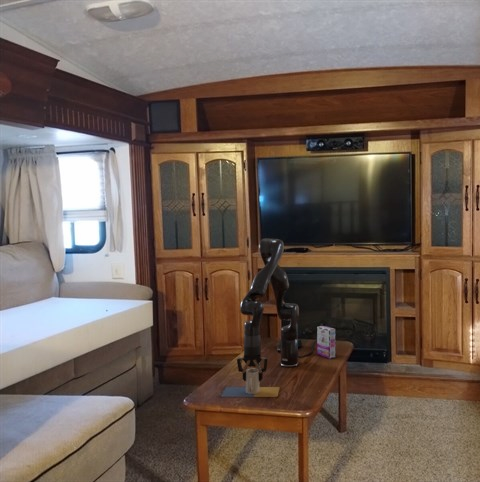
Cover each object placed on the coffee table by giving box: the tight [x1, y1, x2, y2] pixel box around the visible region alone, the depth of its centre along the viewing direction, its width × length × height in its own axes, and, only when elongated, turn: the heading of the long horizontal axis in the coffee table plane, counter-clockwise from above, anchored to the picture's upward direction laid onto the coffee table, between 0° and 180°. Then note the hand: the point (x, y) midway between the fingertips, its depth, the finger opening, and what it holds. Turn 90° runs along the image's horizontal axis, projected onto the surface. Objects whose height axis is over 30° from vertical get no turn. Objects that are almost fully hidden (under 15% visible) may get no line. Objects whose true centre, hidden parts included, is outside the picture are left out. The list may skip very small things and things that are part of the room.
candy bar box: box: [316, 325, 337, 360], centre depth 250 cm, size 11×5×16 cm, turn 41°
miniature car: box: [276, 338, 303, 352], centre depth 263 cm, size 9×18×8 cm, turn 156°
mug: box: [245, 368, 261, 394], centre depth 196 cm, size 9×6×10 cm
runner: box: [220, 386, 281, 398], centre depth 197 cm, size 11×25×1 cm, turn 90°
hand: (252, 380), depth 197 cm, fingers closed on mug, 6 cm apart
